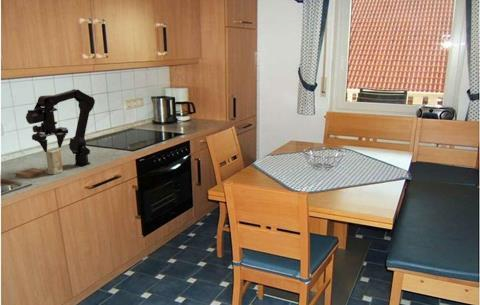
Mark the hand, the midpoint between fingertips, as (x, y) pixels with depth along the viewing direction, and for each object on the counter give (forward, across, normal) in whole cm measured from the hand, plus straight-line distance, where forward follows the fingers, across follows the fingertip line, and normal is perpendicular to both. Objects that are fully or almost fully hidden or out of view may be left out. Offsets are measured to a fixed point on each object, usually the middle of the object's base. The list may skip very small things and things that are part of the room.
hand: (52, 149), depth 214 cm
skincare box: (+13, 0, 0) cm, 13 cm away
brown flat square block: (+13, +7, -10) cm, 18 cm away
